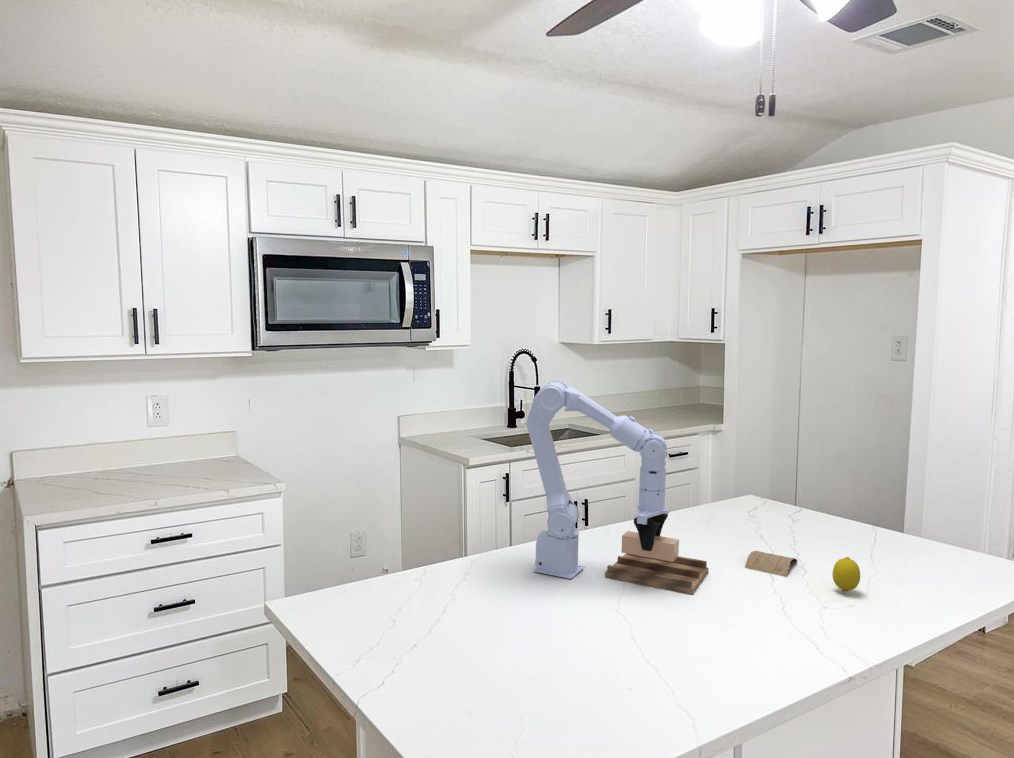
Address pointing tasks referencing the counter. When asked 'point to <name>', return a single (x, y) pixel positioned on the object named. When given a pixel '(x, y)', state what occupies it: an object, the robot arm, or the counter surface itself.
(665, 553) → the peach rectangular block
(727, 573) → the counter surface
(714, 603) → the counter surface
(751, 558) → the clay tablet
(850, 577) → the lemon
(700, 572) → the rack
